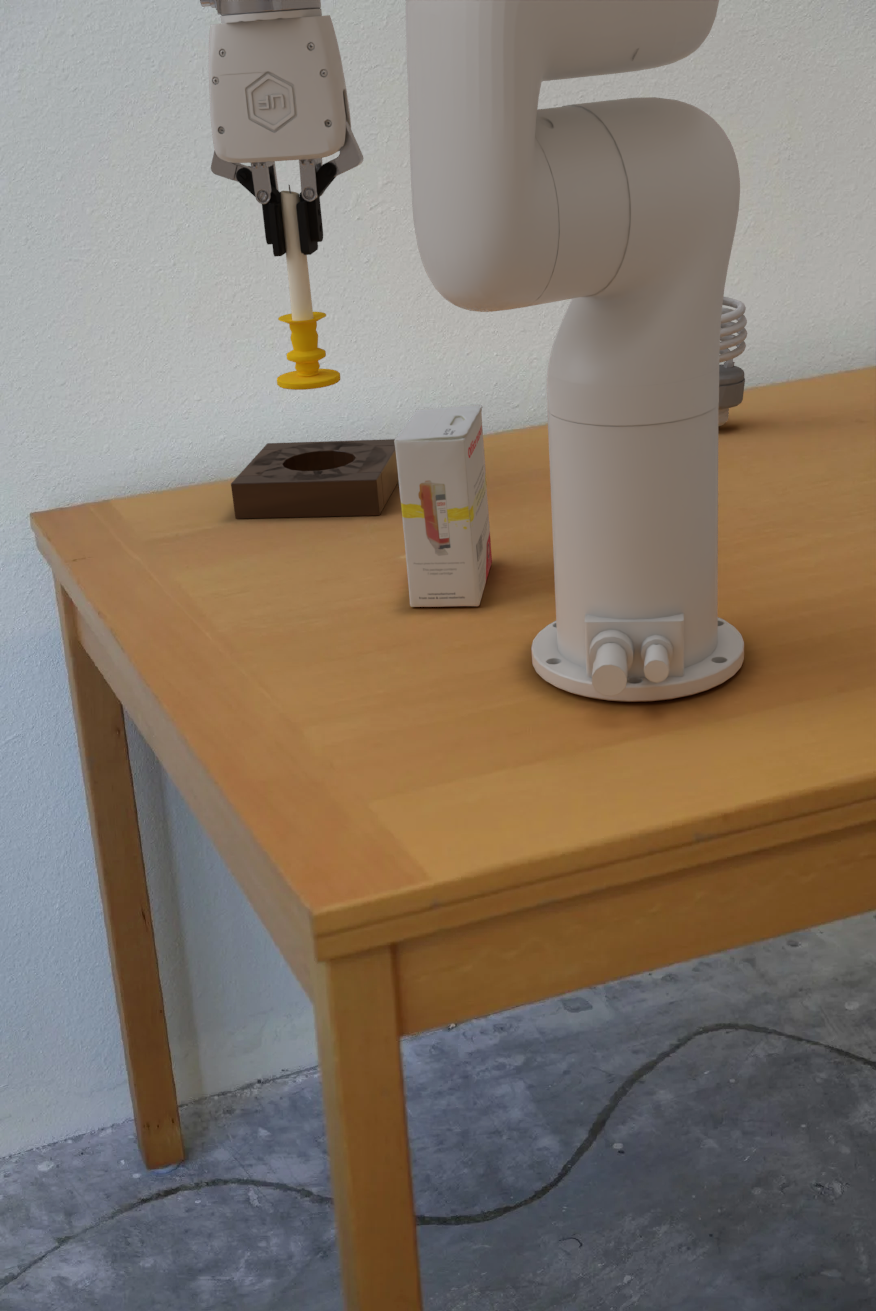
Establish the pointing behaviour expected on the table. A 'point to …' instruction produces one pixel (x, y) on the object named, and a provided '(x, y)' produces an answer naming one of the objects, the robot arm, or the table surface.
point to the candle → (301, 311)
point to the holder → (317, 480)
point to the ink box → (444, 506)
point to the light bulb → (731, 357)
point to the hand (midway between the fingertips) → (296, 251)
